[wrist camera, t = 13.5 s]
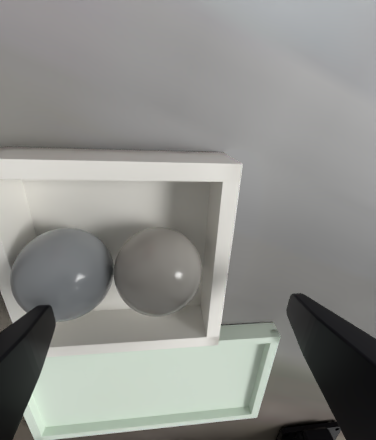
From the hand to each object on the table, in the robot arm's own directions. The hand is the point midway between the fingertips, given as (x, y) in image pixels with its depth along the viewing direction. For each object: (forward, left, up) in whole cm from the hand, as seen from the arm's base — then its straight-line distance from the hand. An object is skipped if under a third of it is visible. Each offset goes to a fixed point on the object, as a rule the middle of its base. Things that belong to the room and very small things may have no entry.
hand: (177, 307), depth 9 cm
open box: (0, +3, -5) cm, 6 cm away
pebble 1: (0, +5, -4) cm, 6 cm away
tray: (-12, +2, -5) cm, 13 cm away
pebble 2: (0, 0, -4) cm, 4 cm away
